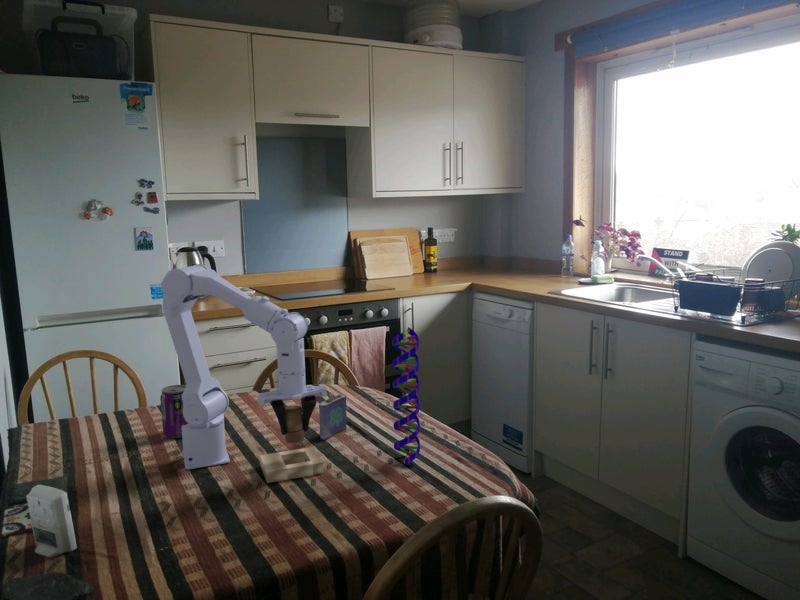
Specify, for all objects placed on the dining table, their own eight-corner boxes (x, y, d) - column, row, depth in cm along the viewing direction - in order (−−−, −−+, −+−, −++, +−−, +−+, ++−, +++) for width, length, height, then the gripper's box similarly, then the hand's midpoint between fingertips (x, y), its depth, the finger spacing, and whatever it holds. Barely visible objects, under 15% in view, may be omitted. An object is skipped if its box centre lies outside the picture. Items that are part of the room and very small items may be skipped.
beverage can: (187, 439, 156) (183, 392, 154) (158, 439, 156) (154, 393, 154) (197, 429, 163) (193, 384, 161) (169, 429, 163) (166, 384, 161)
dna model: (418, 467, 139) (416, 333, 134) (391, 465, 140) (389, 332, 135) (422, 455, 145) (421, 327, 140) (397, 454, 146) (395, 326, 141)
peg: (287, 444, 135) (284, 413, 134) (283, 438, 139) (280, 407, 138) (306, 441, 137) (303, 409, 136) (302, 435, 141) (299, 404, 140)
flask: (325, 441, 154) (324, 398, 152) (316, 438, 156) (314, 396, 154) (349, 429, 162) (348, 388, 160) (340, 426, 163) (339, 386, 162)
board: (267, 483, 132) (266, 471, 132) (260, 466, 141) (259, 455, 140) (323, 473, 137) (323, 462, 136) (313, 457, 145) (313, 446, 145)
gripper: (260, 380, 129) (263, 443, 131) (329, 371, 134) (331, 432, 136) (254, 371, 135) (258, 431, 138) (321, 363, 141) (323, 422, 143)
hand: (294, 431), depth 138 cm, fingers closed on peg, 4 cm apart
